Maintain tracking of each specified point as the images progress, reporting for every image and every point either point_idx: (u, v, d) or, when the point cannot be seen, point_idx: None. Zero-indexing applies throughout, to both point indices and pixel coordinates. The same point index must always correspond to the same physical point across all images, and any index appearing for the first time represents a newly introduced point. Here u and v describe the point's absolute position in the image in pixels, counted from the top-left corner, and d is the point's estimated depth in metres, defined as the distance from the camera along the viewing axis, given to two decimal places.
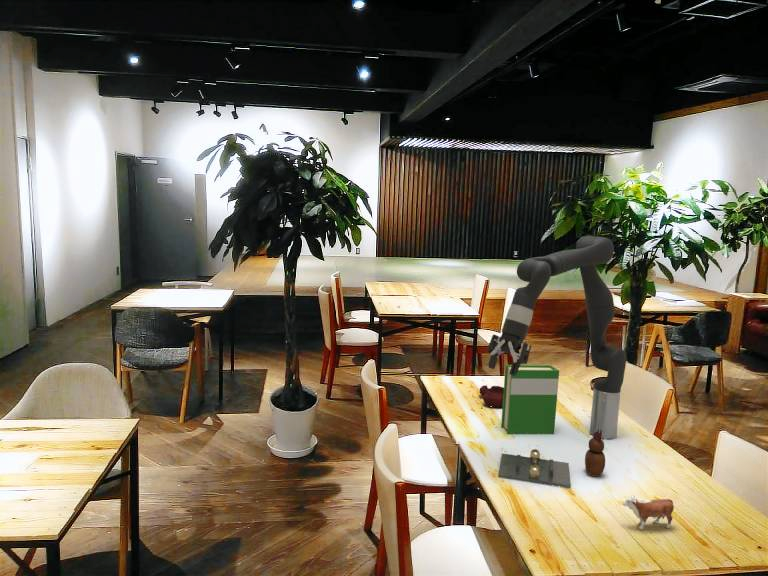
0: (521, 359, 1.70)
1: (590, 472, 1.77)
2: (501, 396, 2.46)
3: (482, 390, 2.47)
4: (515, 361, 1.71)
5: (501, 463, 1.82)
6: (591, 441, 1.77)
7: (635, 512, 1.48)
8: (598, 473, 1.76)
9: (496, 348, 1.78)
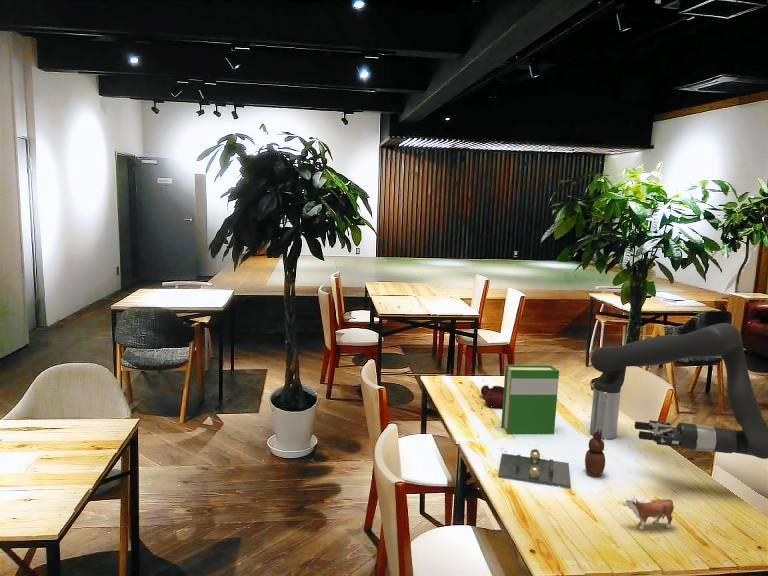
0: None
1: (590, 472, 1.77)
2: None
3: (483, 390, 2.47)
4: None
5: (501, 463, 1.82)
6: (591, 441, 1.77)
7: (635, 512, 1.48)
8: (598, 473, 1.76)
9: None
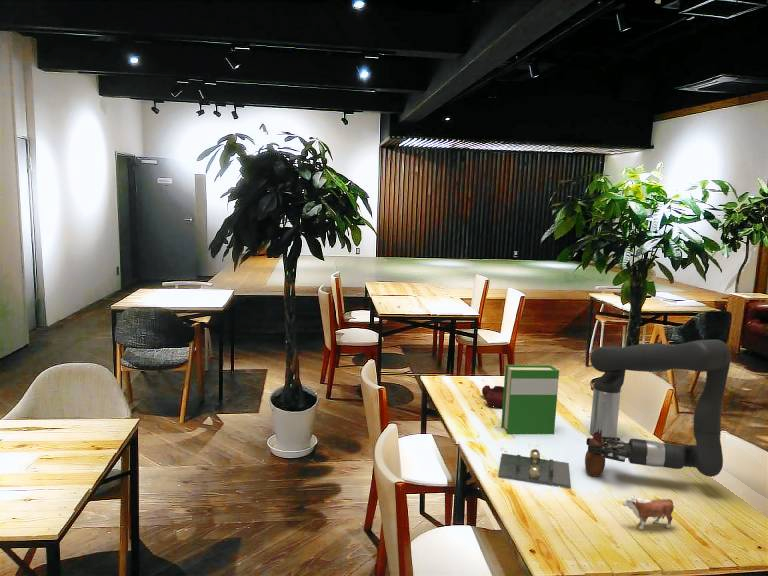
0: None
1: (590, 472, 1.77)
2: None
3: (484, 390, 2.47)
4: None
5: (501, 463, 1.82)
6: (591, 441, 1.77)
7: (635, 512, 1.48)
8: (598, 473, 1.76)
9: None
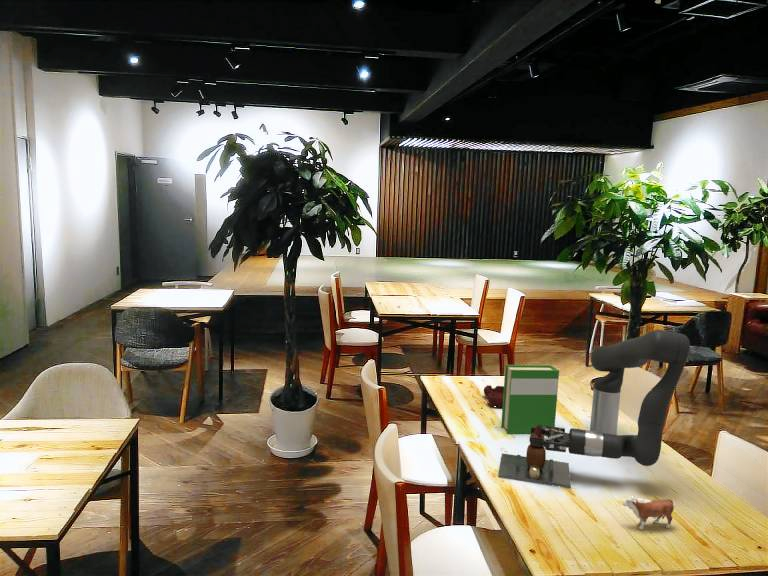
0: None
1: None
2: None
3: (486, 390, 2.47)
4: None
5: (501, 463, 1.82)
6: (532, 436, 1.77)
7: (635, 512, 1.48)
8: None
9: None
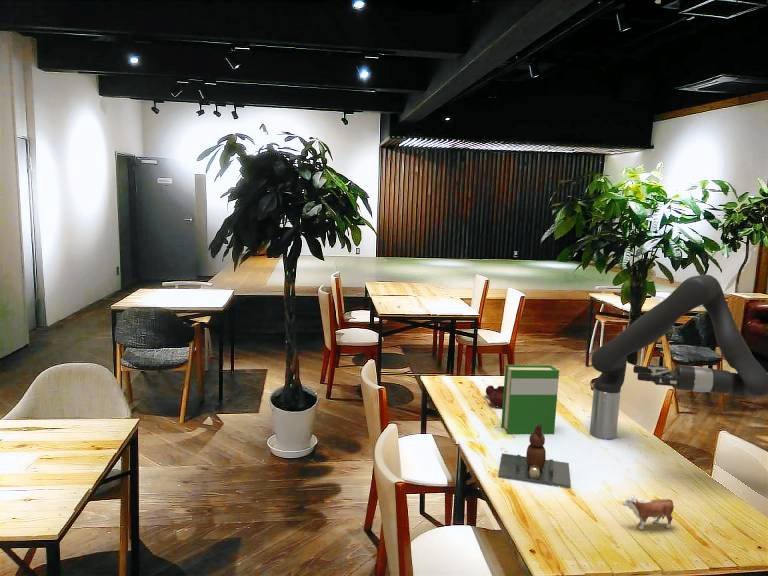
0: None
1: None
2: None
3: (488, 390, 2.47)
4: None
5: (501, 463, 1.82)
6: (531, 436, 1.77)
7: (635, 512, 1.48)
8: None
9: None
